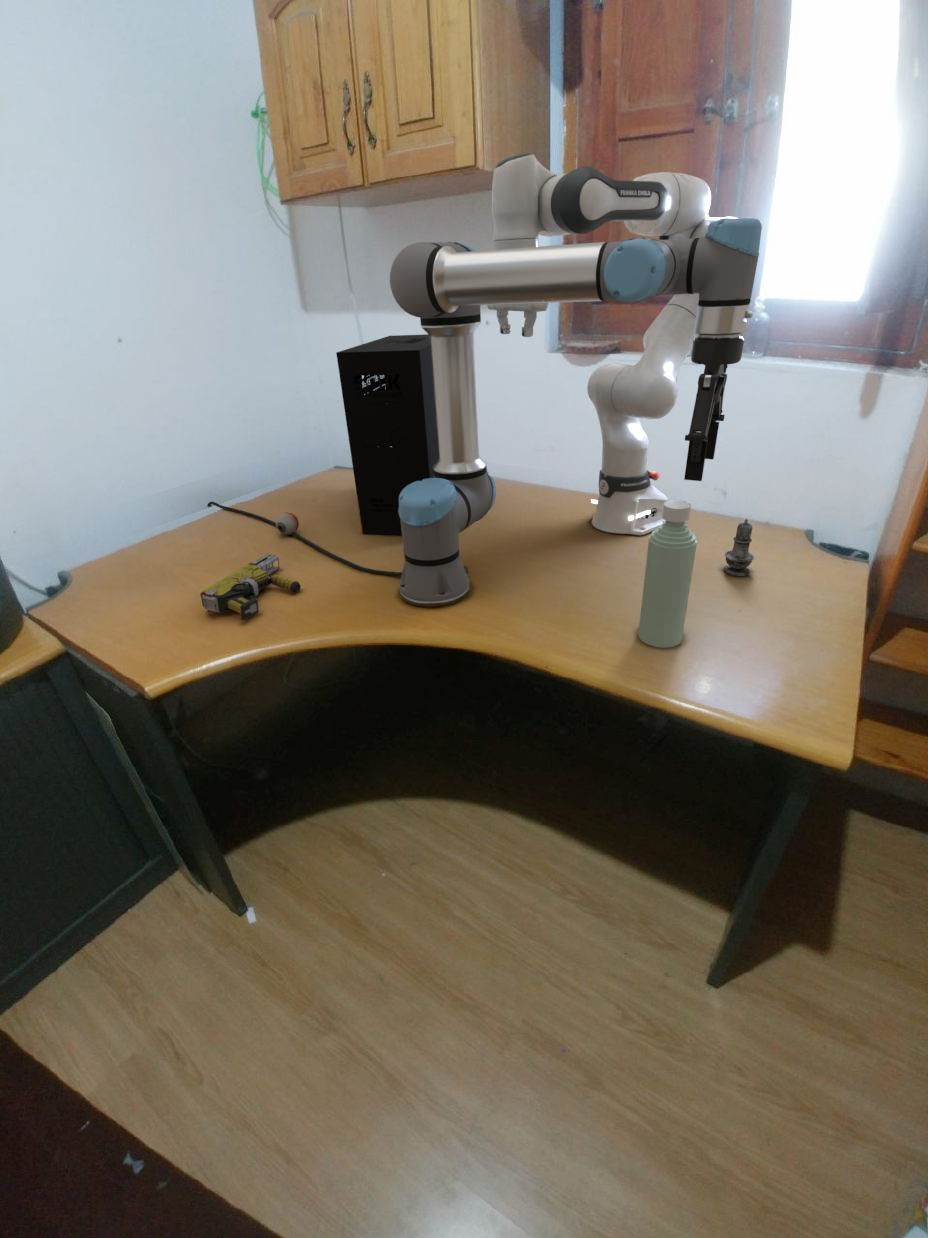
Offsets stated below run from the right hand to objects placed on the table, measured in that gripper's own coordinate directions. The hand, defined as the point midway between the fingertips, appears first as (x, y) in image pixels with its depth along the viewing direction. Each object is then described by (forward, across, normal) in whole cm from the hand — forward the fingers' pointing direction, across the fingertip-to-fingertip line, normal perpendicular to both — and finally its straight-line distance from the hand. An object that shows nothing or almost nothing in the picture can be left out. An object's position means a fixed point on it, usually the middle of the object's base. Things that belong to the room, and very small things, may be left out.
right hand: (516, 335), depth 125 cm
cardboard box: (+48, +39, +11) cm, 63 cm away
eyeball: (+48, +41, +49) cm, 80 cm away
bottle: (+48, -49, -3) cm, 69 cm away
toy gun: (+48, +7, +60) cm, 77 cm away
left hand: (+20, -42, -13) cm, 49 cm away
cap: (+23, -49, -3) cm, 54 cm away
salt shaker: (+48, -36, -35) cm, 69 cm away
